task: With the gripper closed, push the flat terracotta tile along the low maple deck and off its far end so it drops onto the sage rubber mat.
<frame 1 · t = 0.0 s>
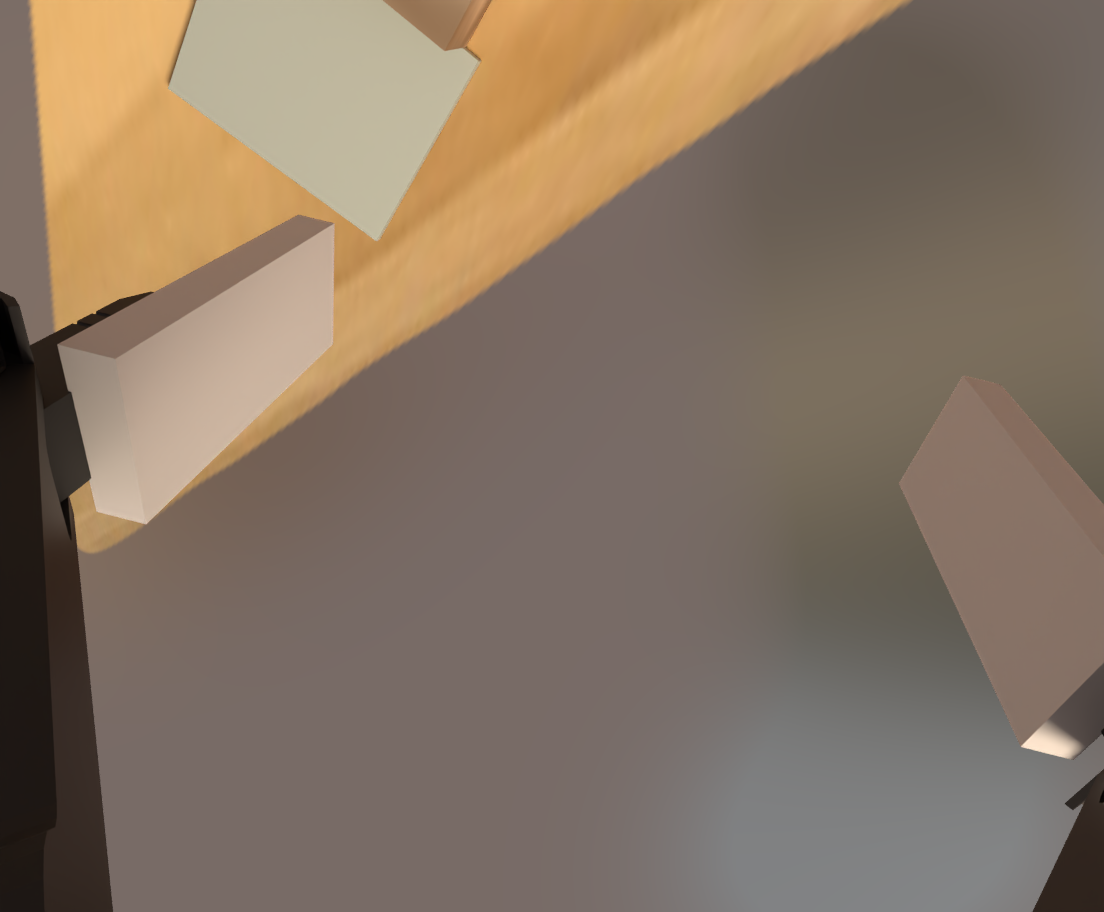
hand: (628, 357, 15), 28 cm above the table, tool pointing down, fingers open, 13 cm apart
mat: (321, 74, 39), on the table
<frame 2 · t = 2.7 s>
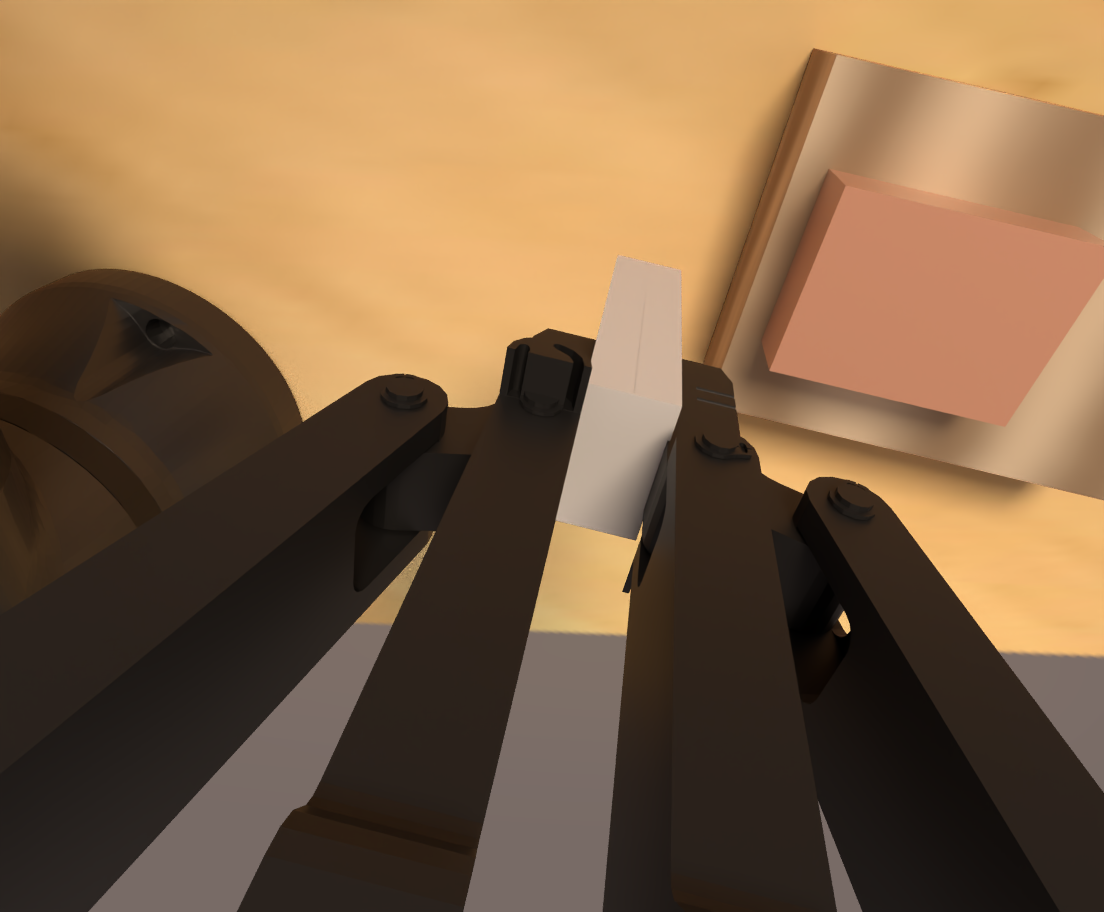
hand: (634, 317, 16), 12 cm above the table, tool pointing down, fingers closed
deck: (954, 272, 27), on the table
tile: (908, 288, 23), point 4 cm above the table, touching deck
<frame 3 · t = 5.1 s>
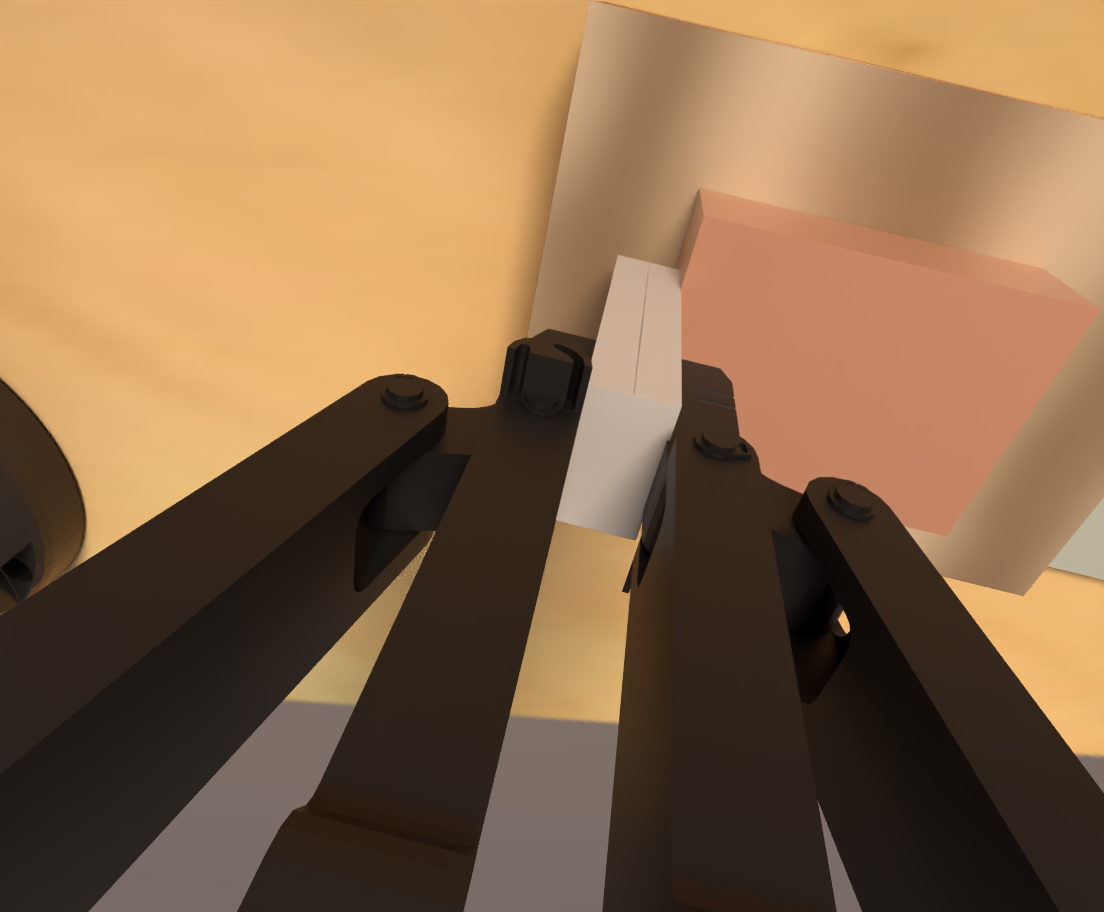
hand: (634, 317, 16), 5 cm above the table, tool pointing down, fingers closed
deck: (818, 298, 21), on the table
tile: (818, 346, 17), point 4 cm above the table, touching gripper
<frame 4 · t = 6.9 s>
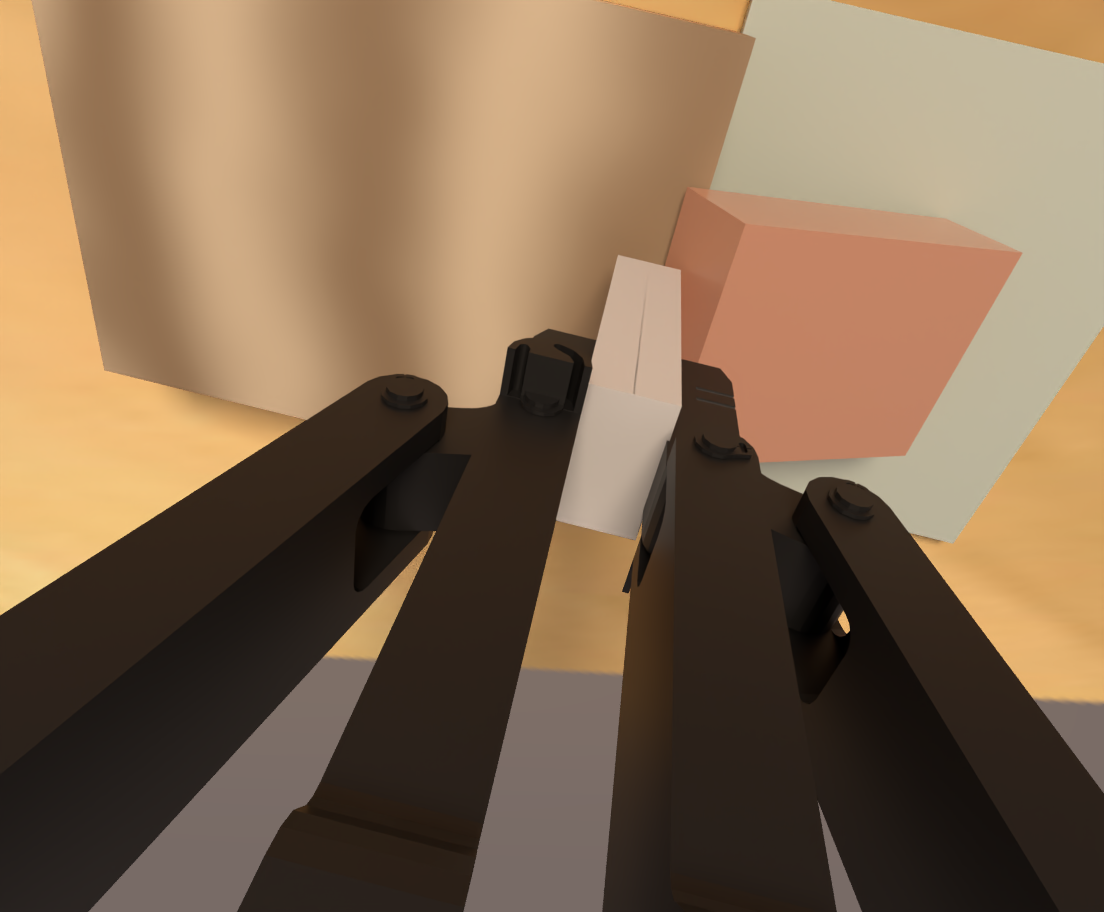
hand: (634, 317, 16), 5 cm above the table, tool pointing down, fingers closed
deck: (414, 200, 21), on the table
mat: (868, 308, 21), on the table
tile: (782, 316, 19), point 2 cm above the table, tilted 27°, touching gripper
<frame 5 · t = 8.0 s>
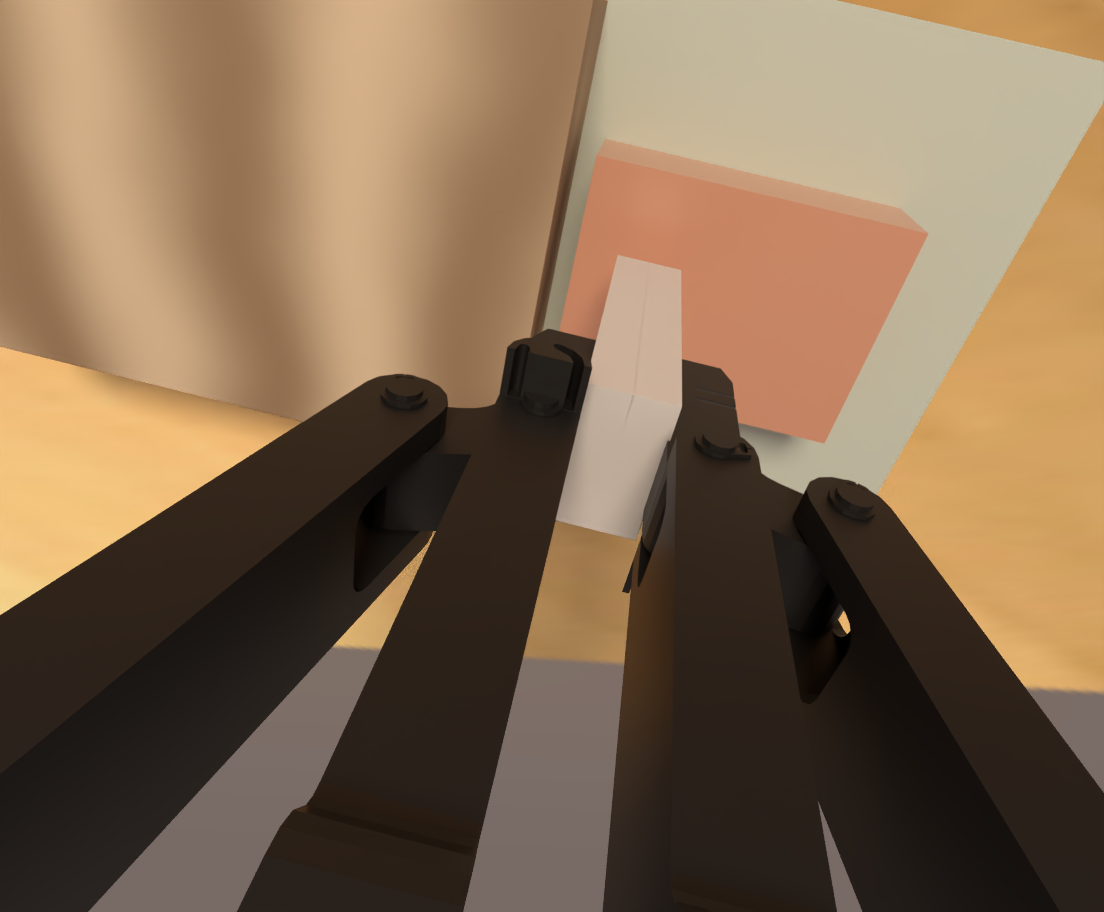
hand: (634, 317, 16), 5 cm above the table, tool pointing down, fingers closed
deck: (304, 175, 21), on the table
mat: (759, 284, 20), on the table
tile: (716, 280, 20), point 1 cm above the table, touching mat
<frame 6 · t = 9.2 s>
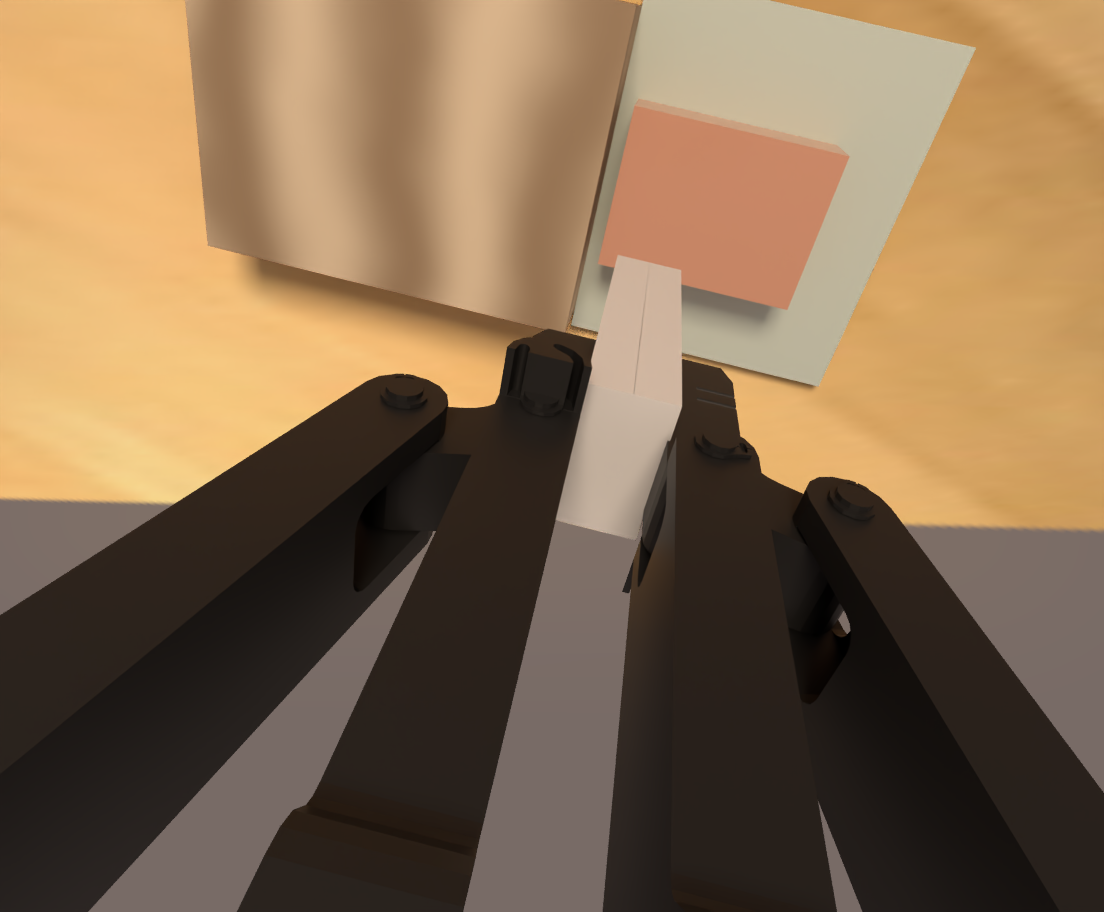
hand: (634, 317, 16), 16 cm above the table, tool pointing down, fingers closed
deck: (425, 127, 30), on the table
mat: (743, 202, 29), on the table
tile: (713, 199, 29), point 1 cm above the table, touching mat
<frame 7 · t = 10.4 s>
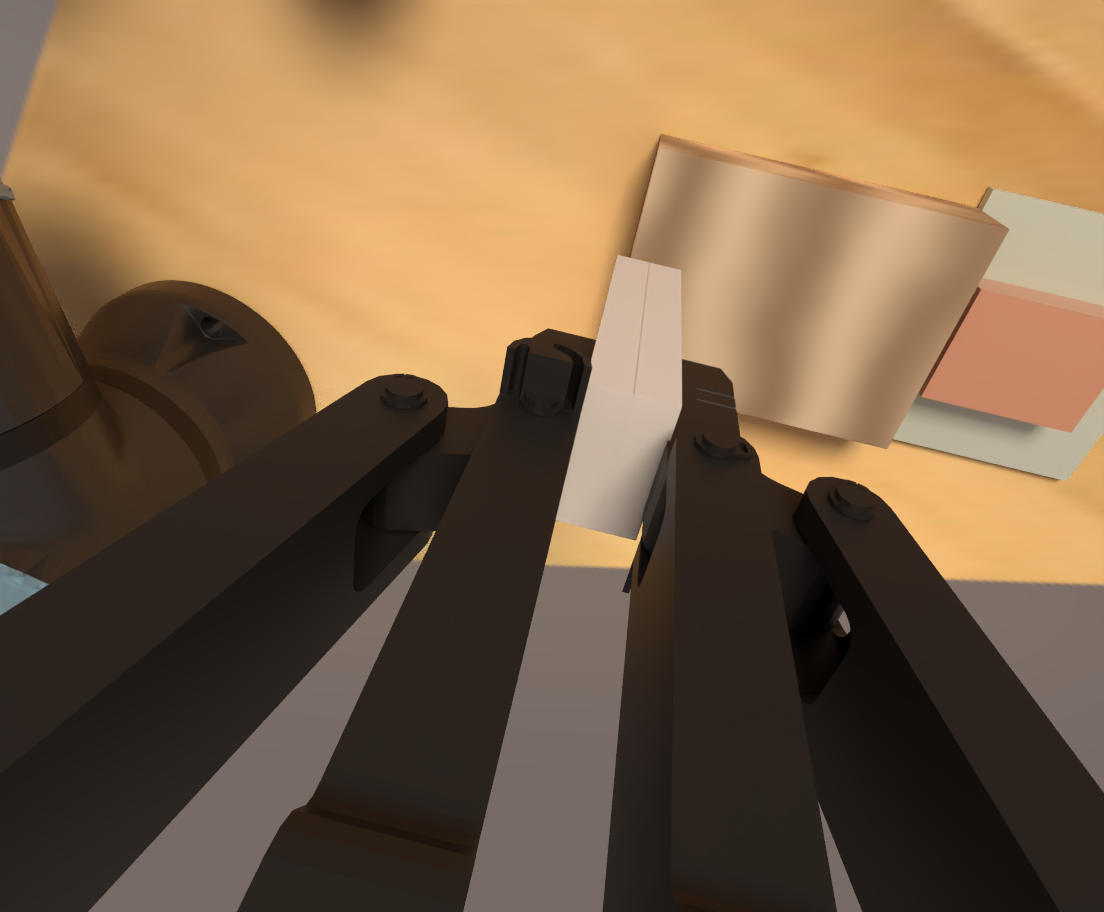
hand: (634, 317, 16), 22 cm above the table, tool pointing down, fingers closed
deck: (774, 285, 38), on the table
mat: (1029, 345, 37), on the table
tile: (1008, 344, 37), point 1 cm above the table, touching mat
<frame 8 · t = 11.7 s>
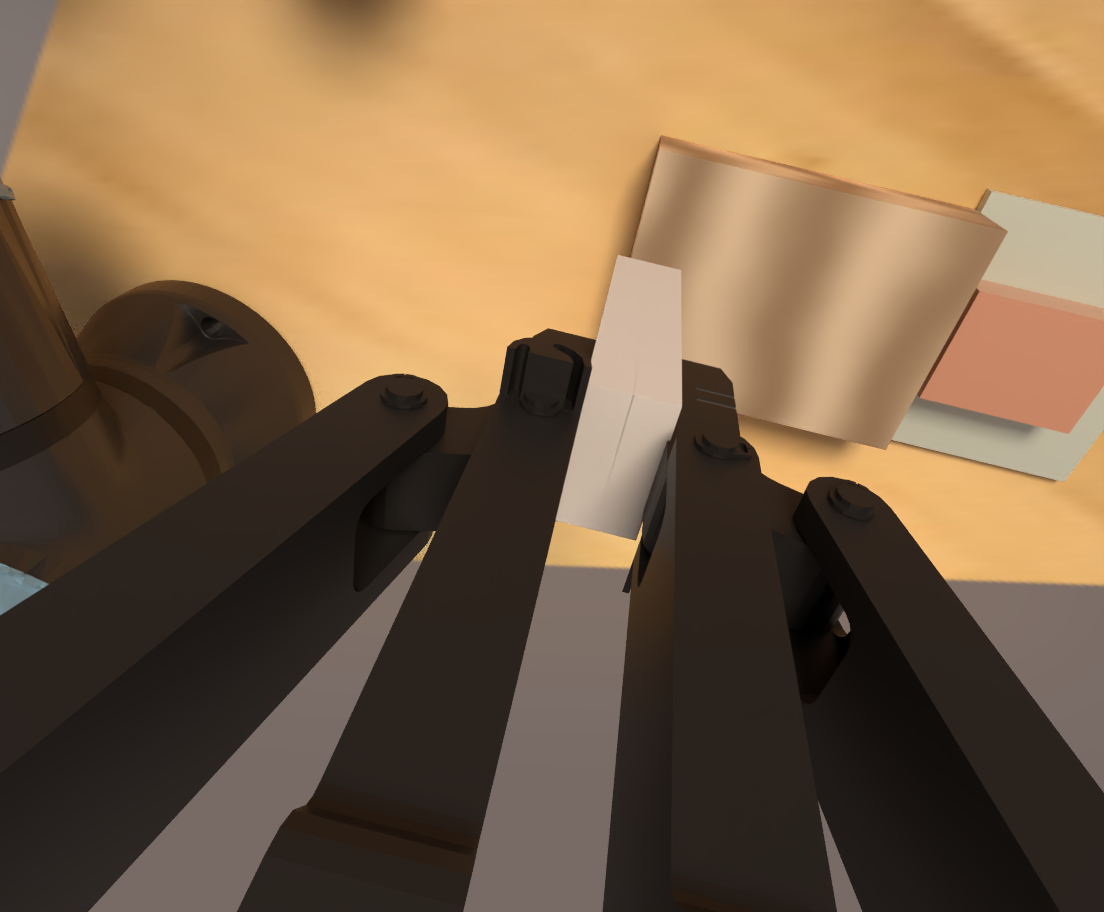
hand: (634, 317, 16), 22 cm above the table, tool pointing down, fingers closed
deck: (773, 286, 38), on the table
mat: (1026, 346, 37), on the table
tile: (1006, 345, 37), point 1 cm above the table, touching mat
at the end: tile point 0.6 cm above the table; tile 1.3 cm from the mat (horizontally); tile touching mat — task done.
